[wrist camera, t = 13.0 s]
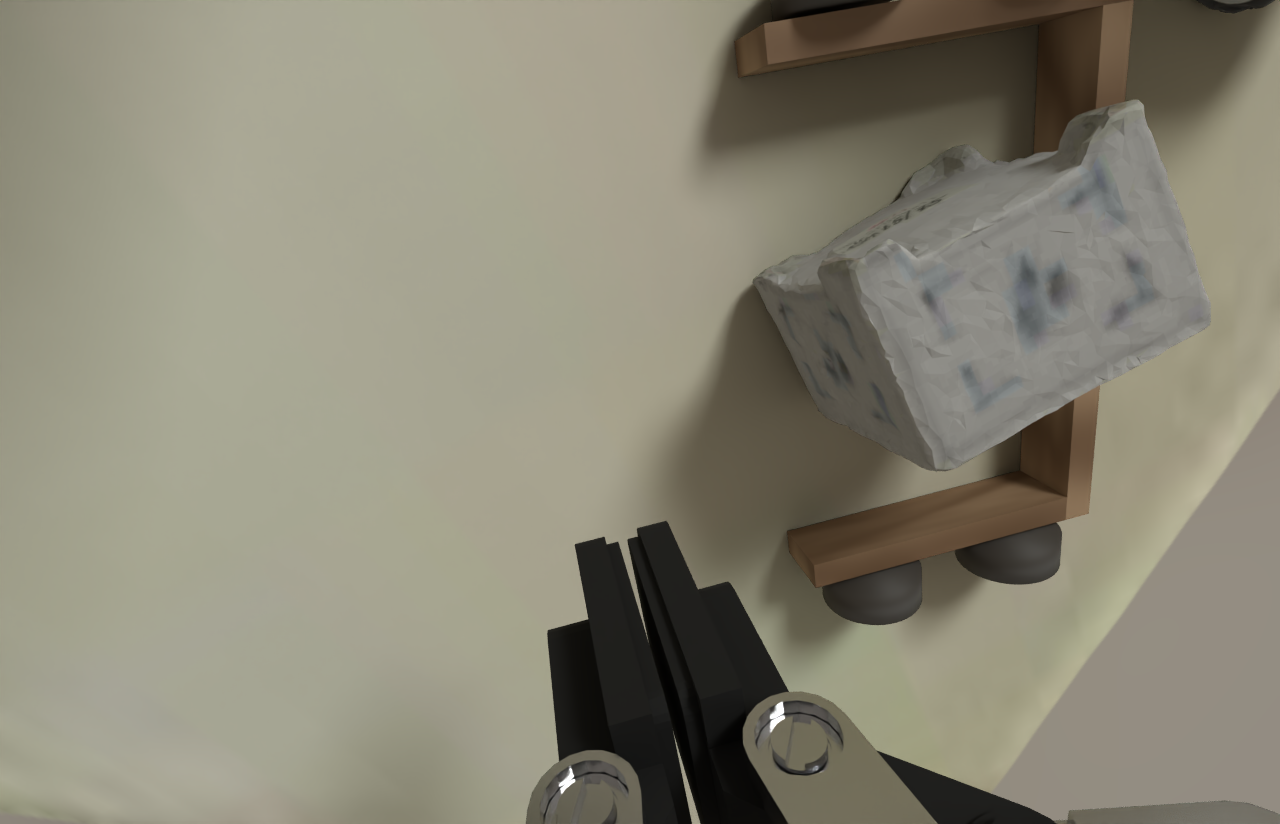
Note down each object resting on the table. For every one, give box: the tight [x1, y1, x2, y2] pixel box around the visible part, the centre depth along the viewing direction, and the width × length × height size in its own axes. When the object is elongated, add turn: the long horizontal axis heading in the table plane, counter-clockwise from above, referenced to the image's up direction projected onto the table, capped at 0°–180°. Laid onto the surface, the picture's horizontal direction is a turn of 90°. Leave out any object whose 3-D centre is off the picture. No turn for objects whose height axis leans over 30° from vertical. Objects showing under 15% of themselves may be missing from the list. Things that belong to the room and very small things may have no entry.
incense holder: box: [753, 100, 1211, 471], centre depth 23 cm, size 10×8×10 cm
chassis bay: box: [735, 0, 1134, 625], centre depth 27 cm, size 26×14×4 cm, turn 11°
